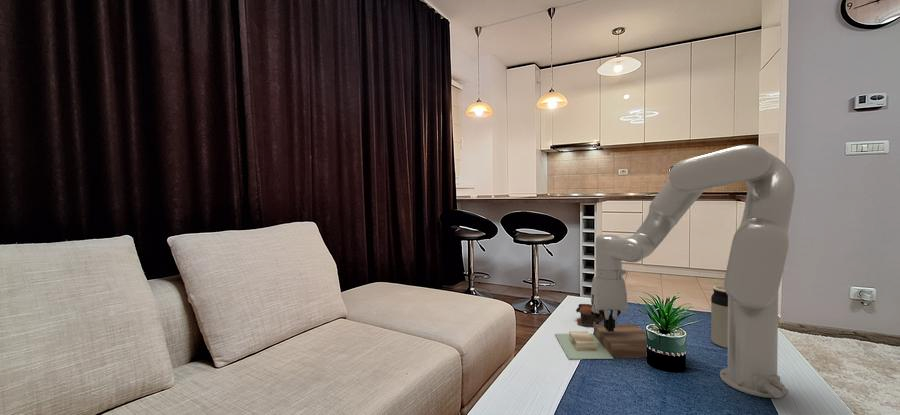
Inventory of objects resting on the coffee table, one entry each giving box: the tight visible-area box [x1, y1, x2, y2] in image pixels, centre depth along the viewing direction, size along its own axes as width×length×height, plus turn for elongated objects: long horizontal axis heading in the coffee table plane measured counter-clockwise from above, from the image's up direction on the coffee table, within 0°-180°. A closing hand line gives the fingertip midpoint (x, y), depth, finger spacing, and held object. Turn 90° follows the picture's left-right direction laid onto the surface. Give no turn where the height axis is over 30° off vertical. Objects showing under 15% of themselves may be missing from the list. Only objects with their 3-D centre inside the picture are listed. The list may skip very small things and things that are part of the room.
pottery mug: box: [575, 303, 604, 328], centre depth 131 cm, size 12×10×8 cm
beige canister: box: [710, 284, 728, 349], centre depth 110 cm, size 8×8×18 cm
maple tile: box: [568, 330, 597, 351], centre depth 113 cm, size 9×6×2 cm, turn 175°
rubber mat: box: [554, 332, 615, 361], centre depth 113 cm, size 18×13×1 cm
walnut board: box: [593, 323, 647, 359], centre depth 112 cm, size 16×14×4 cm
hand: (609, 330), depth 112 cm, fingers closed
